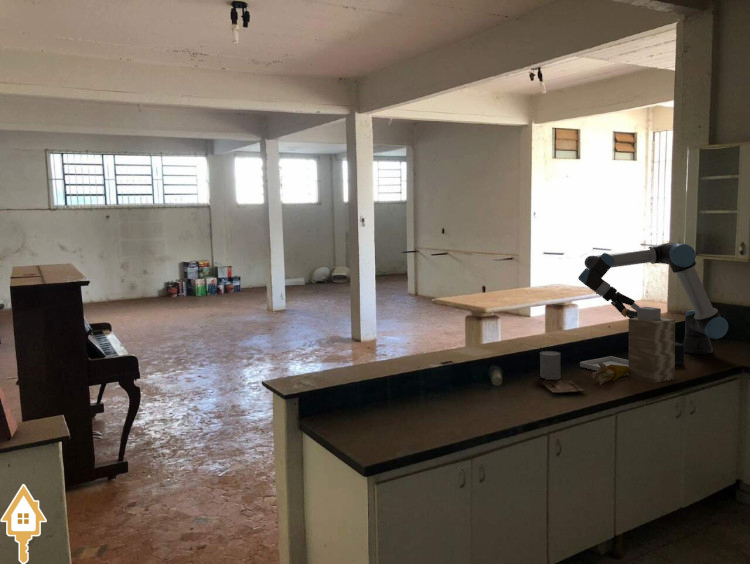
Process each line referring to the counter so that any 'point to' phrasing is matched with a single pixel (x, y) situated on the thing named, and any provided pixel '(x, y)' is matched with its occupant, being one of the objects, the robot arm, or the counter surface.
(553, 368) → the grey cylinder
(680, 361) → the small box
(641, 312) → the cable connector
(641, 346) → the stand
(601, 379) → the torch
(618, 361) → the tray
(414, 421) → the counter surface
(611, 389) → the counter surface
